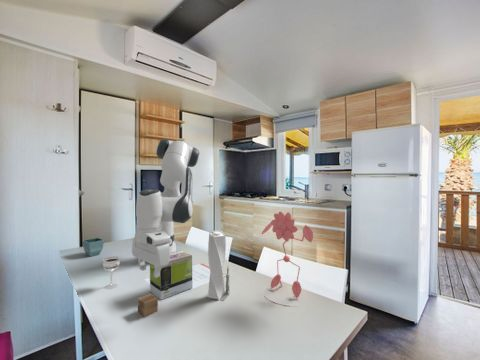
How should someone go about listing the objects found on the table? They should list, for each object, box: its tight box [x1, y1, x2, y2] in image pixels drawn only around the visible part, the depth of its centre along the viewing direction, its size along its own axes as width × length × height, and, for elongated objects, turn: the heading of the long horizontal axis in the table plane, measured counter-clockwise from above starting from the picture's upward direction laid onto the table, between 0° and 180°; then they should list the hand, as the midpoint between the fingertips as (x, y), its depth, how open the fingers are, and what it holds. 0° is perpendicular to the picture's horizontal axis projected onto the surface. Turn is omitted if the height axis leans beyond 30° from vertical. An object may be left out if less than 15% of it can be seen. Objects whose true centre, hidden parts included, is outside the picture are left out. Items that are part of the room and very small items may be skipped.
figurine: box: [261, 211, 314, 307], centre depth 100 cm, size 15×26×35 cm, turn 45°
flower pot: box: [82, 237, 105, 257], centre depth 147 cm, size 9×9×9 cm
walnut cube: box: [137, 293, 159, 318], centre depth 87 cm, size 5×5×5 cm
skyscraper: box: [207, 230, 231, 302], centre depth 99 cm, size 8×8×28 cm
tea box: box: [149, 250, 193, 300], centre depth 104 cm, size 15×10×15 cm, turn 134°
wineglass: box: [102, 256, 121, 290], centre depth 106 cm, size 7×7×12 cm
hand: (149, 273), depth 87 cm, fingers open, 8 cm apart
